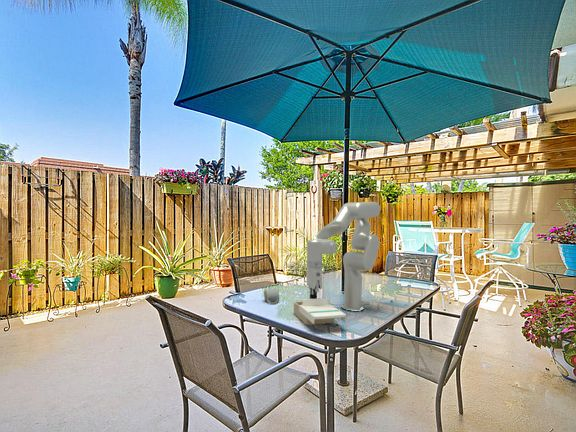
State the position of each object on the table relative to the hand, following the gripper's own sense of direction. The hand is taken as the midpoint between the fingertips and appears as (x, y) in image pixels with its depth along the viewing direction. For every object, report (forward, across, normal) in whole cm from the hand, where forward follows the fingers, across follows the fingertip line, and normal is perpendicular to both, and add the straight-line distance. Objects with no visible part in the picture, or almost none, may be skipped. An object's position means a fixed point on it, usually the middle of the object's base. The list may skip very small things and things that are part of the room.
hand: (313, 302), depth 150 cm
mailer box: (+8, 0, 0) cm, 8 cm away
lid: (+4, -10, 0) cm, 11 cm away
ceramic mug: (+8, +33, +12) cm, 36 cm away
